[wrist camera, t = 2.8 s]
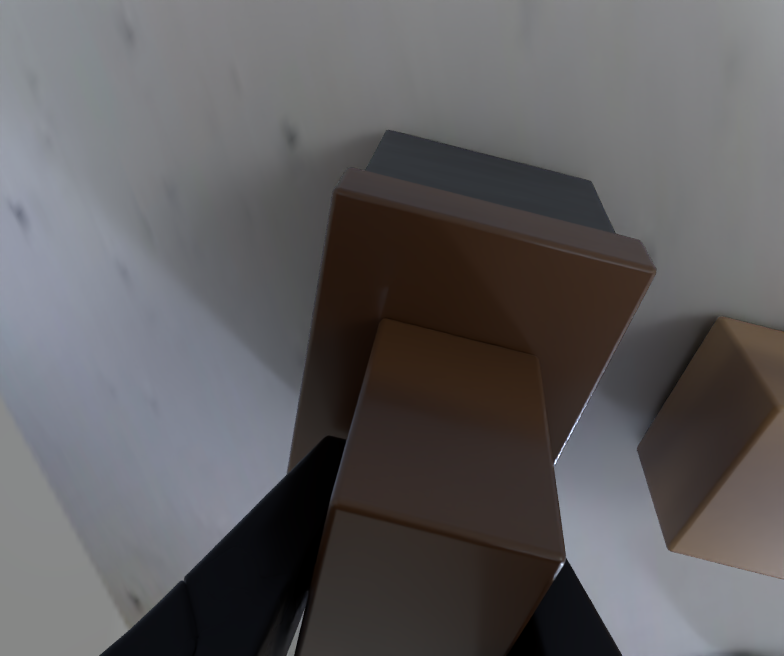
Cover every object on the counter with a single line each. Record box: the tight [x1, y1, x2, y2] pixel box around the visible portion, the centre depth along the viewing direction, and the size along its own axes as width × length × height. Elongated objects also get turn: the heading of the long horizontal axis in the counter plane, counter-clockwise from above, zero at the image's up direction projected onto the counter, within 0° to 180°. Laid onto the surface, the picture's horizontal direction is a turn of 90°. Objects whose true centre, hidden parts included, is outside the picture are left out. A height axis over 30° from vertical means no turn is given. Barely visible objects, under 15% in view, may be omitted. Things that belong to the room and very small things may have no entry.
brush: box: [287, 130, 656, 656], centre depth 10 cm, size 8×4×8 cm, turn 168°
